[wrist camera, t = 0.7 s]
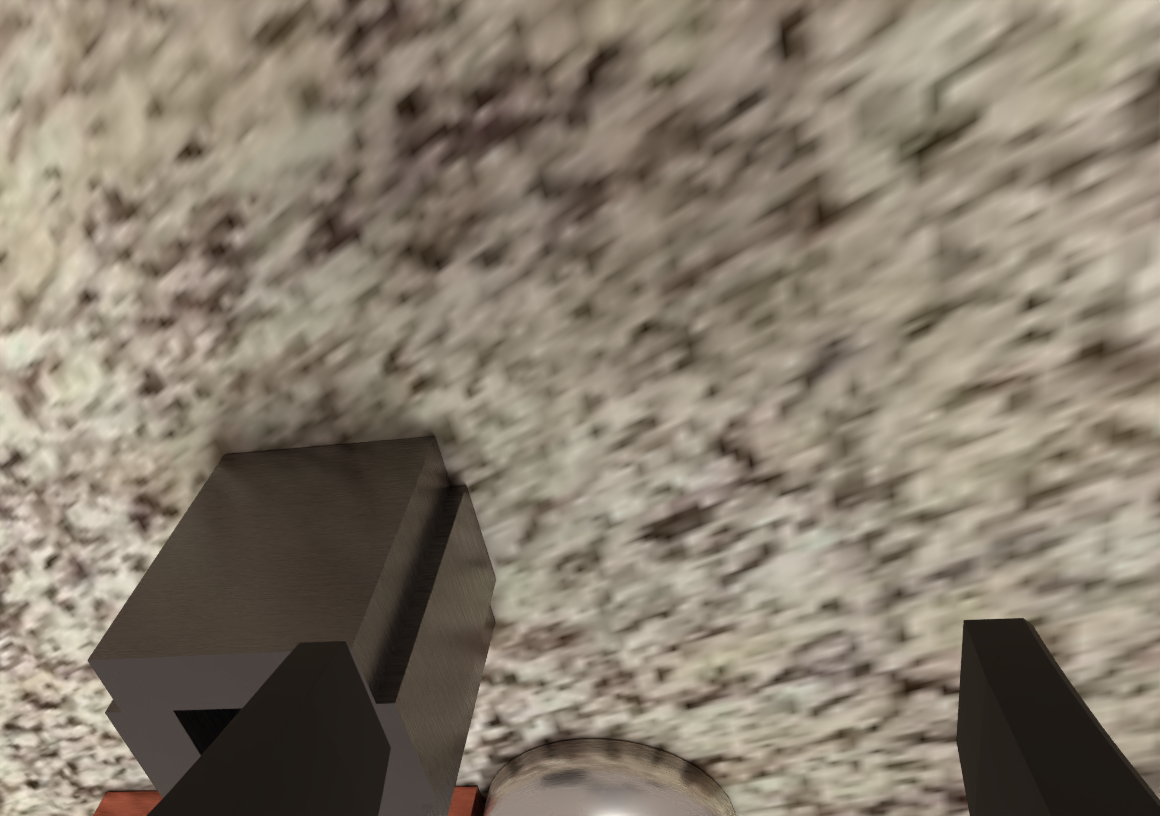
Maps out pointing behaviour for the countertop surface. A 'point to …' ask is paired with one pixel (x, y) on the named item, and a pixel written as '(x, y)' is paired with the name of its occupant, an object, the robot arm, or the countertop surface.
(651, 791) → the ratchet
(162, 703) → the socket
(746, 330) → the countertop surface
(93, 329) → the countertop surface
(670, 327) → the countertop surface
